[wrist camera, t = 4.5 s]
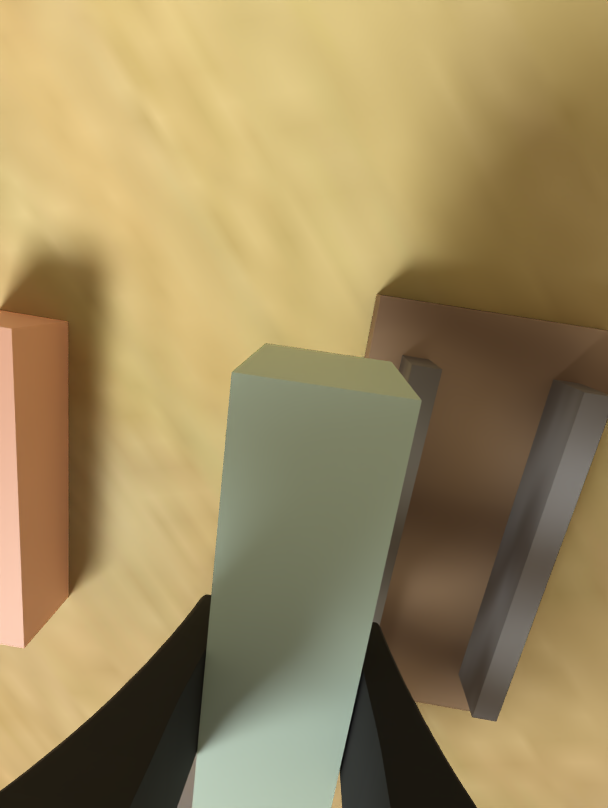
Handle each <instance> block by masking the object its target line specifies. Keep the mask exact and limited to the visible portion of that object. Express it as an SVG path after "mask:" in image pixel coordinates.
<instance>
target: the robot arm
mask: <svg viewBox="0 0 608 808" xmlns="http://www.w3.org/2000/svg"><path fill="white" fill-rule="evenodd" d="M210 605H211V595H205V596H203V597H201V599H200V600H199V601H198V603H197V604H196V606H195V607H194V608H193V609H192V611H191V612H190V613H189V615H188V616H187V617H186V618H185V620H184V621H183V622H182V623H181V625H180V626H179V627H178V628H177V629H176V630H175V632H174V633H173V634H172V635H171V636H170V638H169V639H168V640H167V641H166V642H165V643H164V644H163V645H162V646H161V647H160V649H159V650H158V651H157V652H156V653H155V654H154V655H153V656H152V657H151V659H150V660H149V661H148V662H147V663H146V664H145V665H144V666H143V667H142V668H141V669H140V670H139V671H138V672H137V673H136V674H135V675H134V676H133V677H132V678H131V679H130V680H129V681H128V682H127V683H126V684H125V685H124V686H123V687H122V688H121V689H120V690H119V691H118V692H117V693H116V694H115V695H114V696H113V697H112V698H111V699H110V700H109V701H108V702H107V703H106V704H105V705H104V706H103V707H101V708H100V709H99V710H98V711H97V712H96V713H95V714H94V715H93V716H92V717H91V718H89V719H88V720H87V721H86V722H85V723H84V724H83V725H81V726H80V727H79V728H78V729H77V730H76V731H75V732H73V733H72V734H71V735H70V736H69V737H68V738H66V739H65V740H64V741H63V742H62V743H60V744H59V745H58V746H57V747H56V748H54V749H53V750H52V751H51V752H49V753H48V754H47V755H46V756H44V757H43V758H42V759H41V760H40V761H38V762H37V763H36V764H35V765H33V766H32V767H31V768H30V769H28V770H27V771H26V772H25V773H23V774H22V775H21V776H19V777H18V778H17V779H15V780H14V781H13V782H12V783H10V784H9V785H8V786H6V787H5V788H4V789H2V790H1V791H0V808H192V802H193V791H194V780H195V769H196V758H197V747H198V736H199V726H200V715H201V704H202V693H203V682H204V671H205V660H206V649H207V638H208V627H209V616H210ZM340 780H341V795H342V808H477V807H476V805H475V804H474V802H473V801H472V799H471V798H470V796H469V795H468V793H467V792H466V790H465V788H464V787H463V785H462V784H461V782H460V781H459V779H458V777H457V776H456V774H455V773H454V771H453V769H452V768H451V766H450V764H449V763H448V761H447V759H446V758H445V756H444V754H443V752H442V751H441V749H440V747H439V745H438V744H437V742H436V740H435V739H434V737H433V735H432V733H431V731H430V730H429V728H428V726H427V724H426V722H425V721H424V719H423V717H422V715H421V713H420V711H419V709H418V707H417V705H416V703H415V701H414V699H413V697H412V696H411V694H410V692H409V690H408V688H407V686H406V684H405V682H404V680H403V677H402V675H401V673H400V671H399V669H398V667H397V665H396V662H395V660H394V658H393V656H392V654H391V651H390V649H389V647H388V644H387V642H386V639H385V637H384V635H383V632H382V630H381V627H380V626H379V624H378V623H376V622H372V626H371V631H370V635H369V640H368V644H367V649H366V653H365V658H364V662H363V667H362V671H361V676H360V680H359V685H358V689H357V694H356V698H355V703H354V707H353V712H352V716H351V721H350V725H349V730H348V734H347V739H346V743H345V748H344V752H343V757H342V761H341V766H340Z"/></svg>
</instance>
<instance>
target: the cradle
mask: <svg viewBox="0 0 608 808" xmlns="http://www.w3.org/2000/svg"><path fill="white" fill-rule="evenodd" d="M365 358H369V359H376V360H383V361H390V362H392V363H393V364H394V365H395V367H396V368H397V369H398V371H399V372H400V373H401V374H402V376H403V377H404V378H405V380H406V381H407V382H408V383H409V385H410V386H411V387H412V389H413V390H414V391H415V392H416V394H417V395H418V396H419V398H420V399H421V400H422V402H421V406H420V411H419V415H418V420H417V424H416V429H415V433H414V438H413V442H412V447H411V451H410V456H409V460H408V465H407V469H406V474H405V478H404V483H403V487H402V492H401V496H400V500H399V505H398V509H397V514H396V518H395V523H394V527H393V532H392V536H391V541H390V545H389V550H388V554H387V559H386V563H385V568H384V572H383V577H382V581H381V586H380V590H379V595H378V599H377V604H376V608H375V613H374V617H373V622H376V623H378V624H379V626H380V627H381V630H382V632H383V635H384V637H385V639H386V642H387V644H388V647H389V649H390V651H391V654H392V656H393V658H394V660H395V662H396V665H397V667H398V669H399V671H400V673H401V675H402V677H403V680H404V682H405V684H406V686H407V688H408V690H409V692H410V694H411V696H412V697H413V699H414V701H415V702H421V703H427V704H432V705H438V706H443V707H449V708H454V709H460V710H466V711H470V712H471V715H472V717H474V718H480V719H485V720H491V721H497V718H498V716H499V713H500V710H501V708H502V705H503V702H504V699H505V697H506V694H507V691H508V688H509V686H510V683H511V680H512V678H513V675H514V672H515V669H516V667H517V664H518V661H519V659H520V656H521V653H522V650H523V648H524V645H525V642H526V640H527V637H528V634H529V631H530V629H531V626H532V623H533V621H534V618H535V615H536V612H537V610H538V607H539V604H540V601H541V599H542V596H543V593H544V591H545V588H546V585H547V582H548V580H549V577H550V574H551V572H552V569H553V566H554V563H555V561H556V558H557V555H558V553H559V550H560V547H561V544H562V542H563V539H564V536H565V533H566V531H567V528H568V525H569V523H570V520H571V517H572V514H573V512H574V509H575V506H576V504H577V501H578V498H579V495H580V493H581V490H582V487H583V485H584V482H585V479H586V476H587V474H588V471H589V468H590V466H591V463H592V460H593V457H594V455H595V452H596V449H597V446H598V444H599V441H600V438H601V436H602V433H603V430H604V427H605V425H606V422H607V419H608V331H607V330H601V329H594V328H588V327H582V326H575V325H569V324H563V323H556V322H550V321H543V320H537V319H531V318H524V317H518V316H512V315H505V314H499V313H493V312H486V311H480V310H473V309H467V308H461V307H454V306H448V305H442V304H435V303H429V302H423V301H416V300H410V299H403V298H397V297H391V296H384V295H378V294H377V296H376V301H375V306H374V311H373V316H372V322H371V327H370V332H369V337H368V342H367V348H366V353H365Z"/></svg>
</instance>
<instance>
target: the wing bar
mask: <svg viewBox="0 0 608 808" xmlns="http://www.w3.org/2000/svg"><path fill="white" fill-rule="evenodd" d="M68 597H69V411H68V321H63V320H57V319H51V318H45V317H39V316H32V315H26V314H20V313H14V312H8V311H2V310H0V644H3V645H9V646H14V647H19V648H25V647H26V646H27V644H28V643H29V642H30V641H31V640H32V639H33V637H34V636H35V635H36V634H37V633H38V632H39V630H40V629H41V628H42V627H43V626H44V625H45V623H46V622H47V621H48V620H49V619H50V618H51V617H52V615H53V614H54V613H55V612H56V611H57V610H58V608H59V607H60V606H61V605H62V604H63V603H64V601H65V600H66V599H67V598H68Z"/></svg>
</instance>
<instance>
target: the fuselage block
mask: <svg viewBox="0 0 608 808" xmlns="http://www.w3.org/2000/svg"><path fill="white" fill-rule="evenodd" d="M421 402H422V400H421V399H420V398H419V396H418V395H417V394H416V392H415V391H414V390H413V389H412V387H411V386H410V385H409V383H408V382H407V381H406V380H405V378H404V377H403V376H402V374H401V373H400V372H399V371H398V369H397V368H396V367H395V365H394V364H393V363H392V362H390V361H383V360H376V359H369V358H363V357H356V356H349V355H342V354H335V353H328V352H322V351H315V350H308V349H301V348H294V347H288V346H281V345H274V344H267V343H265V344H264V345H263V346H262V347H261V348H260V349H258V350H257V351H256V352H255V353H254V354H253V355H251V356H250V357H249V358H248V359H247V360H245V361H244V362H243V363H242V364H241V365H240V366H238V367H237V368H236V369H235V370H234V371H233V372H232V375H231V386H230V397H229V408H228V419H227V430H226V441H225V452H224V463H223V474H222V485H221V496H220V507H219V517H218V528H217V539H216V550H215V561H214V572H213V583H212V594H211V605H210V616H209V627H208V638H207V649H206V660H205V671H204V682H203V693H202V704H201V715H200V726H199V736H198V747H197V758H196V769H195V780H194V791H193V802H192V808H331V806H332V802H333V797H334V793H335V788H336V784H337V779H338V775H339V770H340V766H341V761H342V757H343V752H344V748H345V743H346V739H347V734H348V730H349V725H350V721H351V716H352V712H353V707H354V703H355V698H356V694H357V689H358V685H359V680H360V676H361V671H362V667H363V662H364V658H365V653H366V649H367V644H368V640H369V635H370V631H371V626H372V622H373V617H374V613H375V608H376V604H377V599H378V595H379V590H380V586H381V581H382V577H383V572H384V568H385V563H386V559H387V554H388V550H389V545H390V541H391V536H392V532H393V527H394V523H395V518H396V514H397V509H398V505H399V500H400V496H401V492H402V487H403V483H404V478H405V474H406V469H407V465H408V460H409V456H410V451H411V447H412V442H413V438H414V433H415V429H416V424H417V420H418V415H419V411H420V406H421Z"/></svg>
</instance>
